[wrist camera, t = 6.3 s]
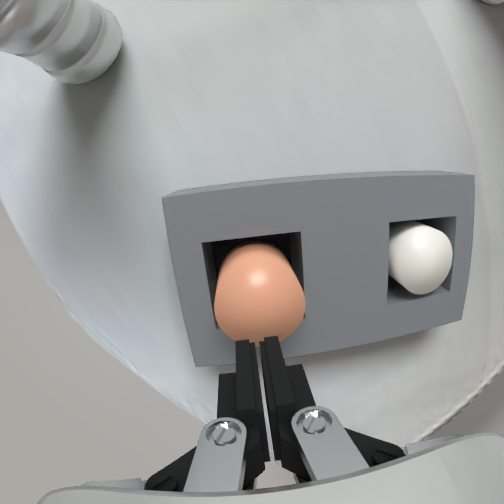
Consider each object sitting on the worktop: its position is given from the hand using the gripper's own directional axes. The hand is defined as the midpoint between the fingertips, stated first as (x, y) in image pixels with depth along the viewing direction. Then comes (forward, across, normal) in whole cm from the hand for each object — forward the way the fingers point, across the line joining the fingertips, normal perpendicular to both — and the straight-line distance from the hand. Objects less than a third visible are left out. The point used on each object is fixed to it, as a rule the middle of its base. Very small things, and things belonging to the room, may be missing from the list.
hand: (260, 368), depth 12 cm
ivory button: (+12, -13, -1) cm, 18 cm away
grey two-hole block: (+13, -6, -1) cm, 14 cm away
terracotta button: (+10, 0, -1) cm, 10 cm away
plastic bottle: (+13, +10, -20) cm, 26 cm away
